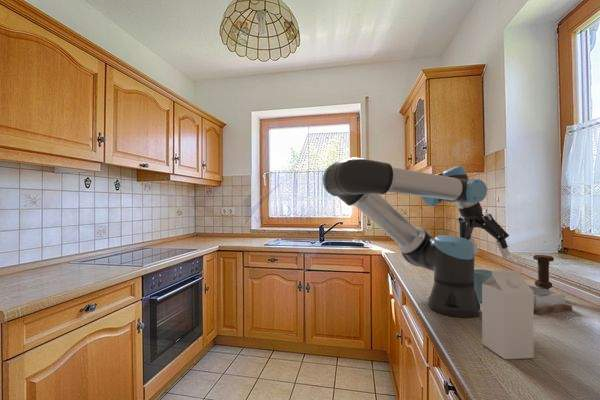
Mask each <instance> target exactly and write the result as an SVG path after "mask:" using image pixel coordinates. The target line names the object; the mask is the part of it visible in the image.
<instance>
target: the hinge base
mask: <svg viewBox="0 0 600 400" xmlns="http://www.w3.org/2000/svg"><path fill="white" fill-rule="evenodd" d="M527 284H528V285H529V286H530V288H531V289H532V290H533V295H534V315H543V314H550V313H551V314H552V313H559V312H568V311H569V312H570V311H573V305H572V304H567V303H566V294H565V293H562V292H559V291H555V290H551V289H549V290H548V289H545V288H541V287H537V286H536V285H535V284H534V285H533V284H529V283H527Z"/></svg>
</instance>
